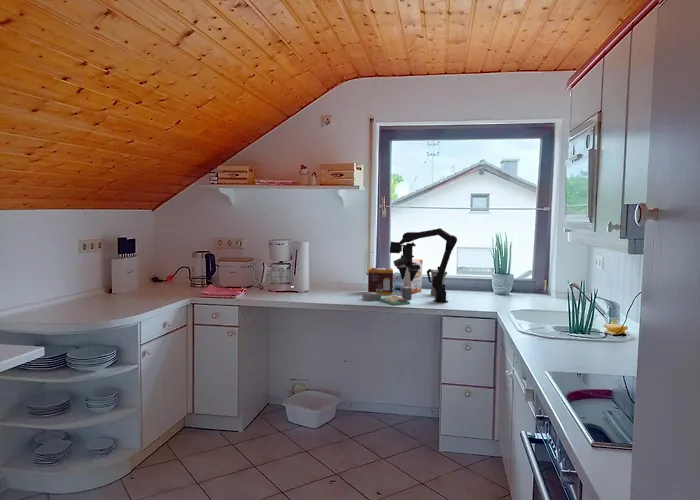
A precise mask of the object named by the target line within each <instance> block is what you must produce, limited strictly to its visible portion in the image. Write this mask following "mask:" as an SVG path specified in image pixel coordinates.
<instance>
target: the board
mask: <svg viewBox="0 0 700 500" xmlns="http://www.w3.org/2000/svg"><path fill="white" fill-rule="evenodd" d="M378 301H380V302H382V303H386V304H388V305H391V306H402V305H410V304H411V301H410V300H406V299H403V297H402V296H399V295H397V294H396V293H395V294H394V293H393V295H384V297H381V298H379V300H378Z"/></svg>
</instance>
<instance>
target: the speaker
mask: <svg viewBox="0 0 700 500" xmlns="http://www.w3.org/2000/svg"><path fill="white" fill-rule="evenodd" d="M361 297H362V300H364V301H367V302H375V301H379V298H382V295H381V294H379V293H376V292H368V291H367V292H362V294H361Z"/></svg>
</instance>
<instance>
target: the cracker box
mask: <svg viewBox="0 0 700 500" xmlns="http://www.w3.org/2000/svg"><path fill="white" fill-rule="evenodd" d="M423 261H424V260H423V259H419V258H418V259H417V258H416V259H415V258H414V259H413V258H412V262H413V263H414V264H418V265H420V270H419V271H418V272H417V273H416V275H415V277H414V279H413V281H410V272H409V271H408V270H410V269H408V267H407V268H406V272H405V276H404V279H403V285H402V288H403V287H410V288H411V295H412V294H417V293H420V292H422V284H423V283H422V281H423V264H424V263H423Z"/></svg>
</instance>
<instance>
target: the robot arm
mask: <svg viewBox="0 0 700 500" xmlns="http://www.w3.org/2000/svg"><path fill="white" fill-rule="evenodd" d="M435 236H439V237H440V238H442V239H443V240H445V250H444V253H443V256H442V259H441V262H440V265H439V270H438V273H437V275H436V274H434V276H433V280H432V279H431V282H430V283H431V287H432V286H433V287H434V288H435V296H434V299H433V300H432V301H433V302H436V303H439V304H440V303H449V301H448V300H447V291H446V289H447V286H446V284H445V283H444V284H443V279H444V273H445V271H446V270H447V267H448V264H449V261H450V257H451V255H452V252H453V250H454V248H455V246H456V244H457V242H458V237H457V236H456V235H454V234H450V233H449V232H447V231H445V230H444V229H443V228H441V227H438V228H435V229H430V230H428V229H427V230H424V231H417V232H416V231H408V232H405V233H403V235H402V239H401V240H399V241H390V245H389V253H390V254H400V253H402V254H401V255H400V257H399V258H397V259H395V260H393V265H394V267H396V269H398V272H399V274H400V277H401V280H404V276H405V272H406V268H407V267H408V269H410V270H408V271H409V272H410V281H413V279H414V277H415V275H416V273H417V272H418V271H419V270H420V265H418V264H414V263H413V262H412V260H413V258H414V257H415V255H413V252H414V251H413V247H416V246H417V244H416V243H415V242H414V241H416V240H418V239H424V238H425V239H426V238H429V237H435ZM405 243H406V244H405Z"/></svg>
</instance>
